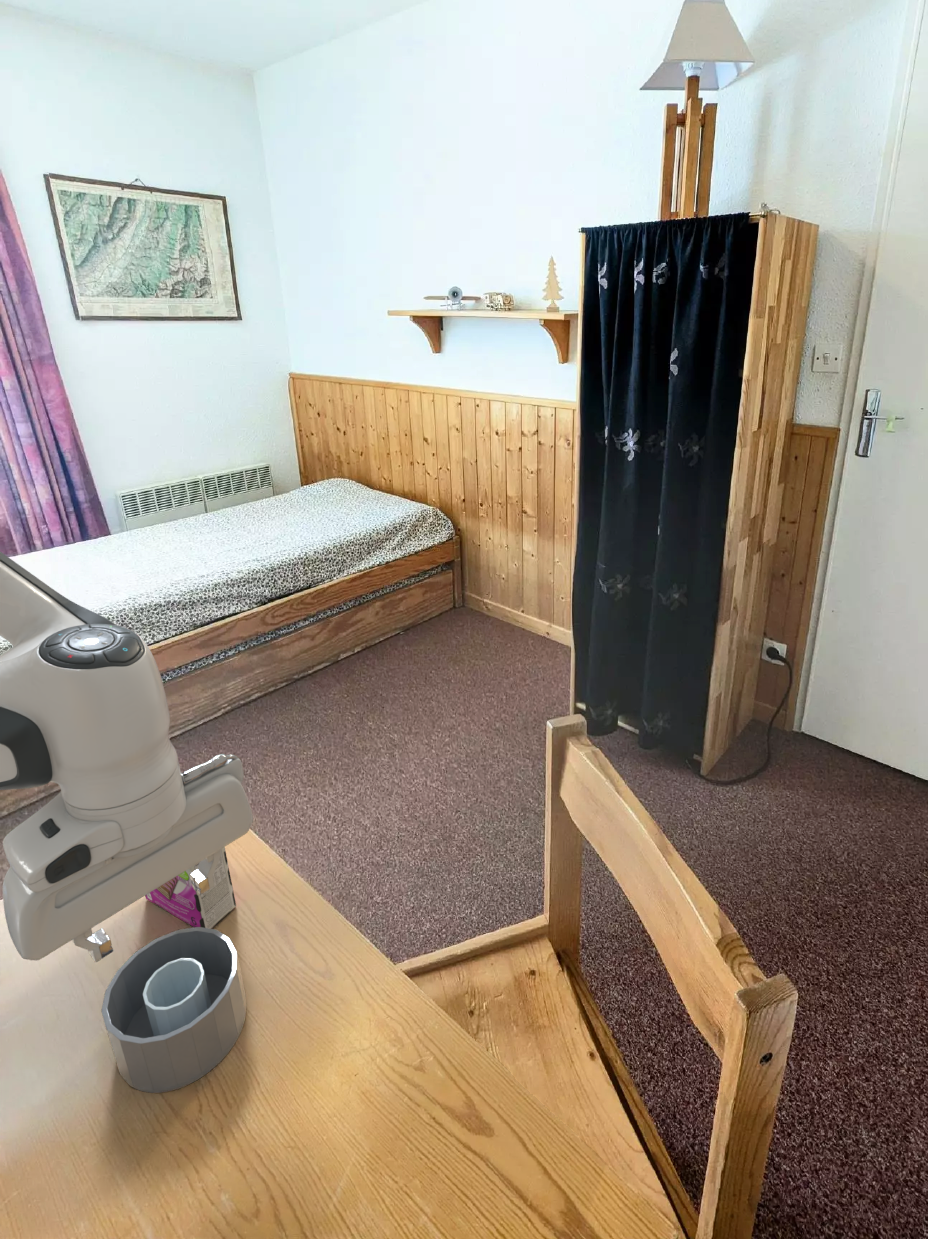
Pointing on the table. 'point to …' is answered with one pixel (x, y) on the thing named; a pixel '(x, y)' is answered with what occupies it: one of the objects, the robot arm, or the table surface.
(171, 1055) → the gray bowl
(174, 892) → the candy bar box
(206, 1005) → the light blue cup
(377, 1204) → the table surface
